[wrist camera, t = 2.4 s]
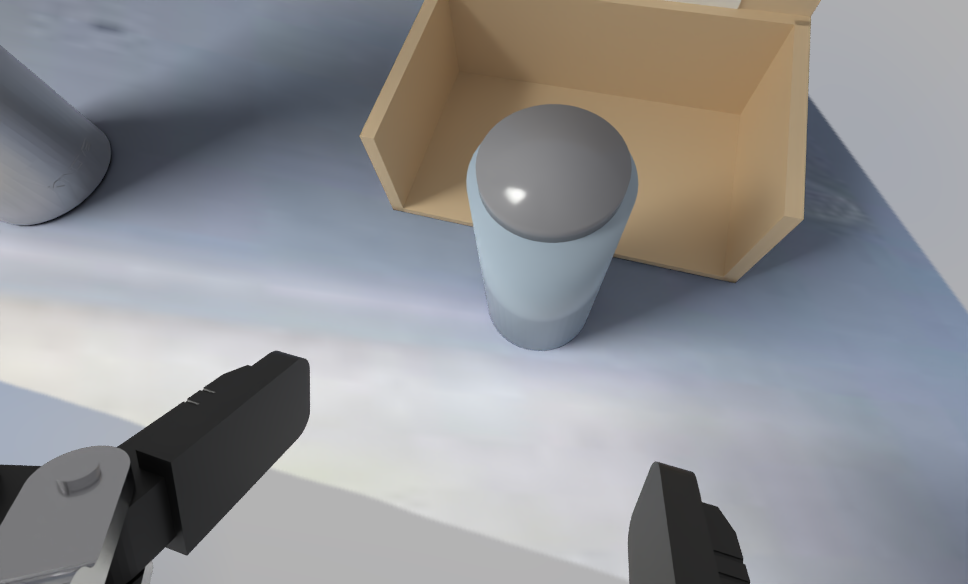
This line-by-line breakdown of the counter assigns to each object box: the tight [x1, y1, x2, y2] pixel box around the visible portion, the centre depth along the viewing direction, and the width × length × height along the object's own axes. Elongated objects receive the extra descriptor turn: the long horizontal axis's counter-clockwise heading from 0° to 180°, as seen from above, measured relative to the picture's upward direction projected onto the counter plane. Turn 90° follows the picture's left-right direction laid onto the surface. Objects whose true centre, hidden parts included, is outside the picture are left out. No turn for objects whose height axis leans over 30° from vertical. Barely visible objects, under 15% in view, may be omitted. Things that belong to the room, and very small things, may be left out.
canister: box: [466, 104, 638, 351], centre depth 21 cm, size 6×6×13 cm
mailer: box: [360, 0, 821, 283], centre depth 25 cm, size 22×14×14 cm, turn 74°
